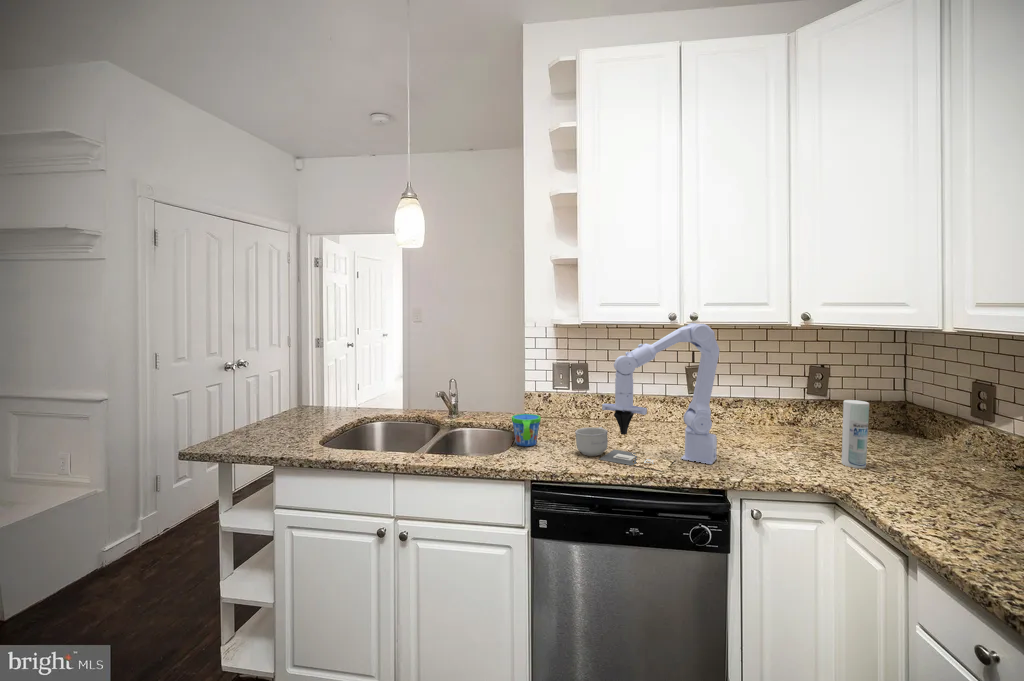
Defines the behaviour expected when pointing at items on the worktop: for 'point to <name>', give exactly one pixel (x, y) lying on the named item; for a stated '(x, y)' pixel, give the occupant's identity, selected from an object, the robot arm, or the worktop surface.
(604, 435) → the teacup
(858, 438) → the spray can
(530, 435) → the snack cup
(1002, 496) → the worktop surface
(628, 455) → the label mat
